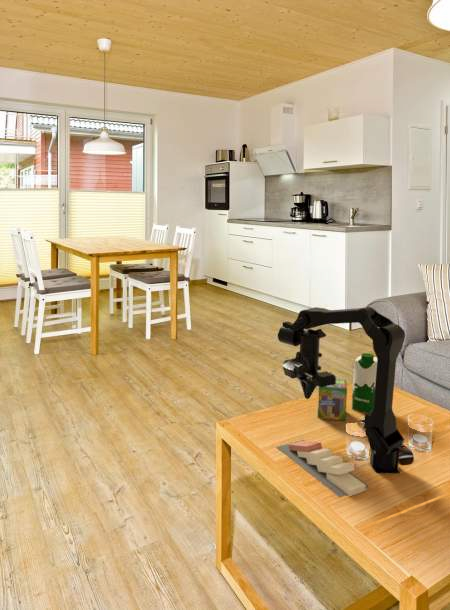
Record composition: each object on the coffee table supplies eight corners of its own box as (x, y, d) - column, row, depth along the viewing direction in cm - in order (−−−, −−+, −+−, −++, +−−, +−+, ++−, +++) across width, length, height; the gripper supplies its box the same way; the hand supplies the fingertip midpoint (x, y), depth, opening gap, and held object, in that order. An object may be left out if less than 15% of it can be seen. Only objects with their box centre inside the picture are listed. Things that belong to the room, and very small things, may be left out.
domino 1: (288, 444, 147) (306, 446, 139) (302, 440, 149) (321, 442, 141) (289, 450, 146) (307, 452, 138) (303, 446, 149) (322, 448, 141)
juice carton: (345, 421, 166) (348, 379, 163) (317, 419, 168) (319, 377, 165) (344, 410, 175) (347, 369, 172) (317, 408, 177) (320, 367, 174)
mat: (275, 448, 148) (275, 447, 148) (303, 441, 153) (303, 439, 153) (339, 498, 124) (339, 496, 124) (370, 487, 129) (370, 486, 129)
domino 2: (297, 451, 143) (316, 453, 135) (311, 447, 145) (330, 449, 137) (298, 456, 143) (317, 459, 135) (312, 452, 145) (332, 455, 137)
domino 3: (306, 458, 139) (326, 460, 131) (320, 454, 142) (341, 456, 134) (307, 464, 139) (327, 466, 131) (322, 459, 141) (342, 462, 133)
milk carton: (348, 409, 176) (352, 354, 172) (357, 400, 183) (360, 348, 179) (373, 415, 171) (378, 359, 167) (381, 406, 179) (385, 352, 174)
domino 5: (326, 472, 132) (350, 490, 124) (341, 468, 134) (365, 485, 126) (326, 478, 132) (349, 496, 124) (341, 473, 134) (365, 490, 127)
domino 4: (316, 465, 135) (338, 468, 127) (331, 460, 138) (353, 463, 130) (317, 471, 135) (339, 474, 127) (332, 466, 137) (354, 469, 130)
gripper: (269, 345, 156) (268, 393, 159) (307, 362, 140) (305, 415, 143) (298, 340, 161) (296, 386, 164) (338, 356, 145) (335, 407, 148)
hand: (307, 398), depth 155 cm, fingers closed
